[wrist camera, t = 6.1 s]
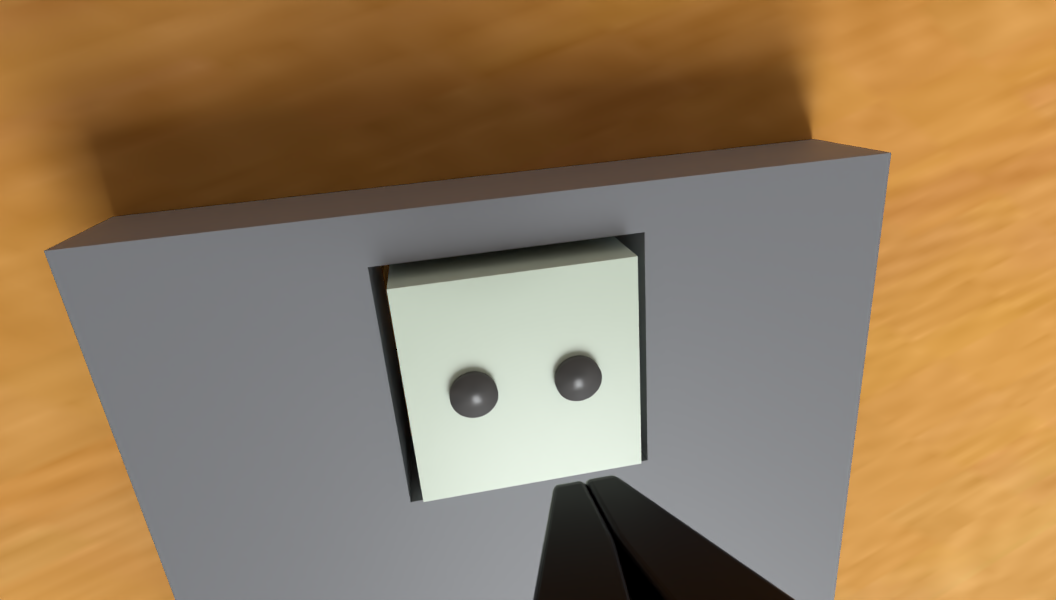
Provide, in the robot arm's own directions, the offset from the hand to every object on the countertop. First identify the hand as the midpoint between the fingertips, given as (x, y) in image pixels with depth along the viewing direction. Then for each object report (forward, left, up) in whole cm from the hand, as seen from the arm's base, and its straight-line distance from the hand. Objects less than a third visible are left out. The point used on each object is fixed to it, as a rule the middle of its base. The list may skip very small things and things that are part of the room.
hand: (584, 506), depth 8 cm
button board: (0, -9, -7) cm, 11 cm away
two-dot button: (0, 0, -6) cm, 6 cm away
